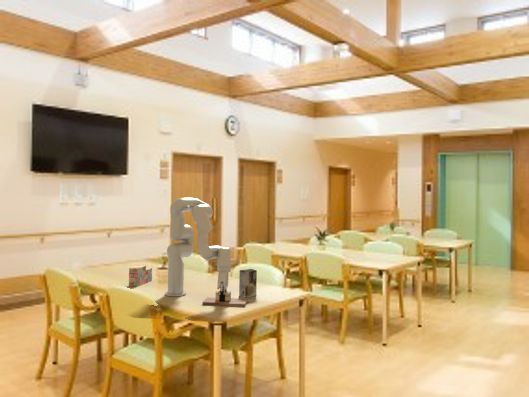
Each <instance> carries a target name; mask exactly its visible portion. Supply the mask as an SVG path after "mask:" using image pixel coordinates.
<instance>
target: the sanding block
mask: <svg viewBox="0 0 529 397" xmlns="http://www.w3.org/2000/svg"><path fill="white" fill-rule="evenodd" d="M219 295H220V290H217V291H215V298H216V299H215V301H219ZM231 299H232V291H231V290H227V291H225V302H230V300H231Z"/></svg>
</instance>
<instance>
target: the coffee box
mask: <svg viewBox="0 0 529 397" xmlns="http://www.w3.org/2000/svg"><path fill="white" fill-rule="evenodd" d="M257 272H258V270H256V269H252V268H247V269H240V270H239V277H238V278H239V282H238V283H239V285H238V286H239V287H238V290H239V292H238V296H239V297H240V298H241V297H242V298H243V299H248V298H251V297H256V296H257V275H258V274H257Z"/></svg>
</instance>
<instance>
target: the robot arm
mask: <svg viewBox="0 0 529 397" xmlns="http://www.w3.org/2000/svg"><path fill="white" fill-rule="evenodd" d="M169 211H170V212H169V213H170V214H169V215H170V226H169V227H170V228H169V229H170V230H169V232H170V233H169V236H170V239H171V240H172V241H175V242H174V243H171V244H170V245H168V247H167V249H166V256H167V262H168V265H167V270H168V271H167V274H168V275H167V291H165V292H164V295H165V296H166V297H183V296H185V295H186V294H187V292H186V291H185V290H184V288H185V287H184V282H185V281H184V280H185V276H184V275H185V265H184V261H183V258H188V257H191V255H192V254H193V252H194V241H195V239H194V238H195V237H194V236H195V233H194V229H193V227H192V226H191V225H189V224H186V222H185V221H186V218H185V215H184V213H185V212H187V213H189V212H191V215H192V218H193V221H194V223H195V226H196V227H195V228H196V229H197V231H198V235H197V239H196V240H197V241H196V243H197V244H196V245H197V248H198V251H199V254H200V255H201V257H202V258H203V259H204V260H206V261H208V260H209V261H211V260H216V259H217V265H216V266H217V269H216V271H217V272H218V274H217V288H216V289H217V290H219V291H220V295H219V301H220V302H225V291H228V290H227V289H228V287H229V279H230V278H229V276H230V274H229V273H230V272H231V262H232V249H231V247H228V246H221V245H211V246H210V245H209V243H208V239H207V238H208V234H209V232H210V231H211V230H212V229H213V225H212V224H211V221H210V218H212V216H213V214H214V211H213V208H212V206H211V205H209V204H208V203H206V202H204V201H202V200H200V199H198V198H196V197H195V198H194V197H178V198H176V199H174V200H172V202H171V205H170V207H169ZM177 241H178V242H177ZM179 241H180V242H179Z"/></svg>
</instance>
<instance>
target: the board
mask: <svg viewBox="0 0 529 397" xmlns="http://www.w3.org/2000/svg"><path fill="white" fill-rule="evenodd" d="M215 299H216V297H211V296H210V297H205V299H204V300H203V301H202V304H201V305H202V306H217V307H218V306H220V307H238V308H245V307H246V306H247V304H248V302H249V300H248V299H249V298H231V300H230V302H220V301H215Z"/></svg>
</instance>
